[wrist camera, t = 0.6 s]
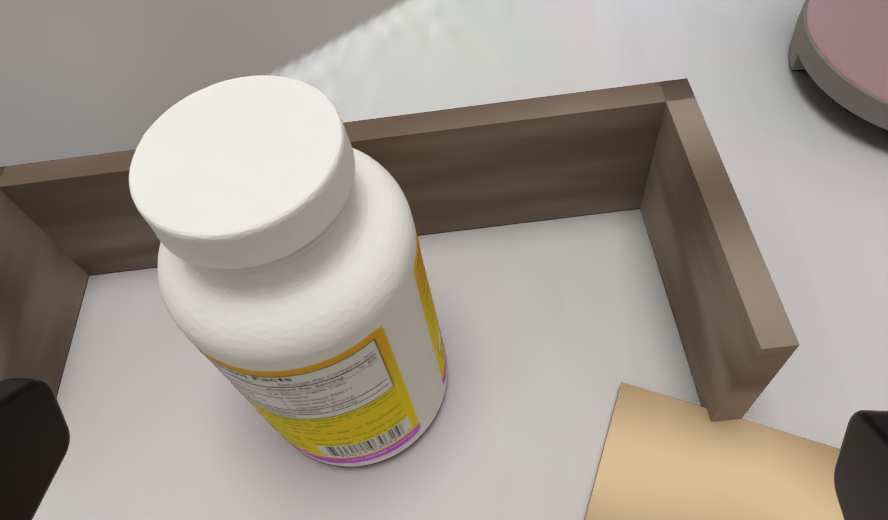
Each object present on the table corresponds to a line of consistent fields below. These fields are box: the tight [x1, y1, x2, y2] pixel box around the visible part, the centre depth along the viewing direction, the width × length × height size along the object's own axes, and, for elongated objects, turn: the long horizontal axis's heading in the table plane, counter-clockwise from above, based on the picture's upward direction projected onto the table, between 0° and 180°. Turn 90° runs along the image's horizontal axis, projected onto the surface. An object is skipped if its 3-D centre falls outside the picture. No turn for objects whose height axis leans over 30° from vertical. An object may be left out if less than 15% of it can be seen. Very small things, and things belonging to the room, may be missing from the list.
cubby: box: [0, 78, 799, 422], centre depth 23 cm, size 10×26×6 cm, turn 94°
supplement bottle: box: [129, 75, 447, 466], centre depth 19 cm, size 7×7×13 cm
